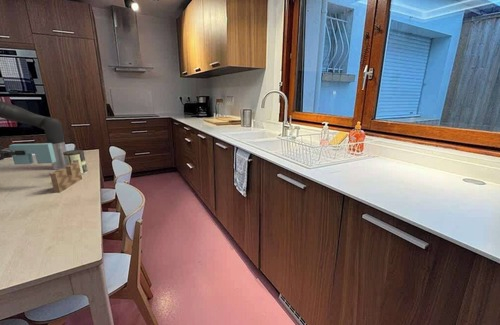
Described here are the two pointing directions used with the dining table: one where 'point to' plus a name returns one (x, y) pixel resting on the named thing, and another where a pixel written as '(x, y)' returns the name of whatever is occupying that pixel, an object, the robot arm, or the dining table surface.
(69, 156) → the coffee can
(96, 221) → the dining table surface
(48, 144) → the cross plate
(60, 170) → the base plate
